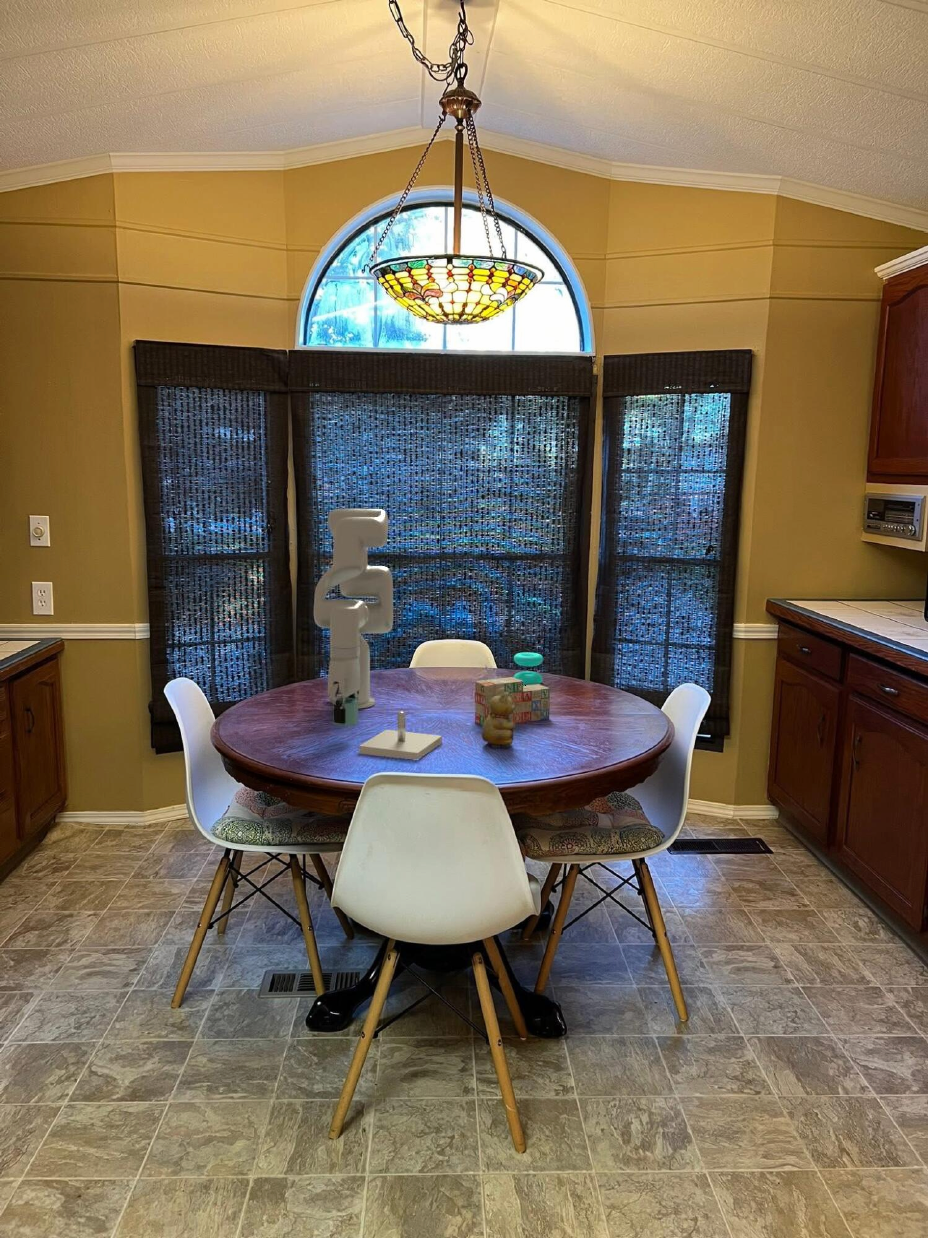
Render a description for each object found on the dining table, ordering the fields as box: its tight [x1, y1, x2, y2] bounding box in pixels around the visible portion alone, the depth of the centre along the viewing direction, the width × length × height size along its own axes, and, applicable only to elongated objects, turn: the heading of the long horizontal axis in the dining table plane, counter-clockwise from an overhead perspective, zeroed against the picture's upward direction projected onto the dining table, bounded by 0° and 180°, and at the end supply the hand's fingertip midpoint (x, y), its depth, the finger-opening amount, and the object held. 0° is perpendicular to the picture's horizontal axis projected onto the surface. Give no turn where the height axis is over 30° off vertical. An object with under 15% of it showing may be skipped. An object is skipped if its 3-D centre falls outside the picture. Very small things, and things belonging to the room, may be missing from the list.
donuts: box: [513, 651, 544, 686], centre depth 305 cm, size 10×10×10 cm
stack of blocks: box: [474, 676, 551, 727], centre depth 257 cm, size 21×6×12 cm, turn 117°
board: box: [358, 710, 443, 760], centre depth 229 cm, size 16×16×10 cm
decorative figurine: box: [481, 688, 516, 748], centre depth 233 cm, size 10×8×15 cm
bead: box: [332, 698, 359, 727], centre depth 235 cm, size 6×6×6 cm
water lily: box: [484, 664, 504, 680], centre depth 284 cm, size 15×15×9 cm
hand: (345, 718), depth 235 cm, fingers closed on bead, 6 cm apart
